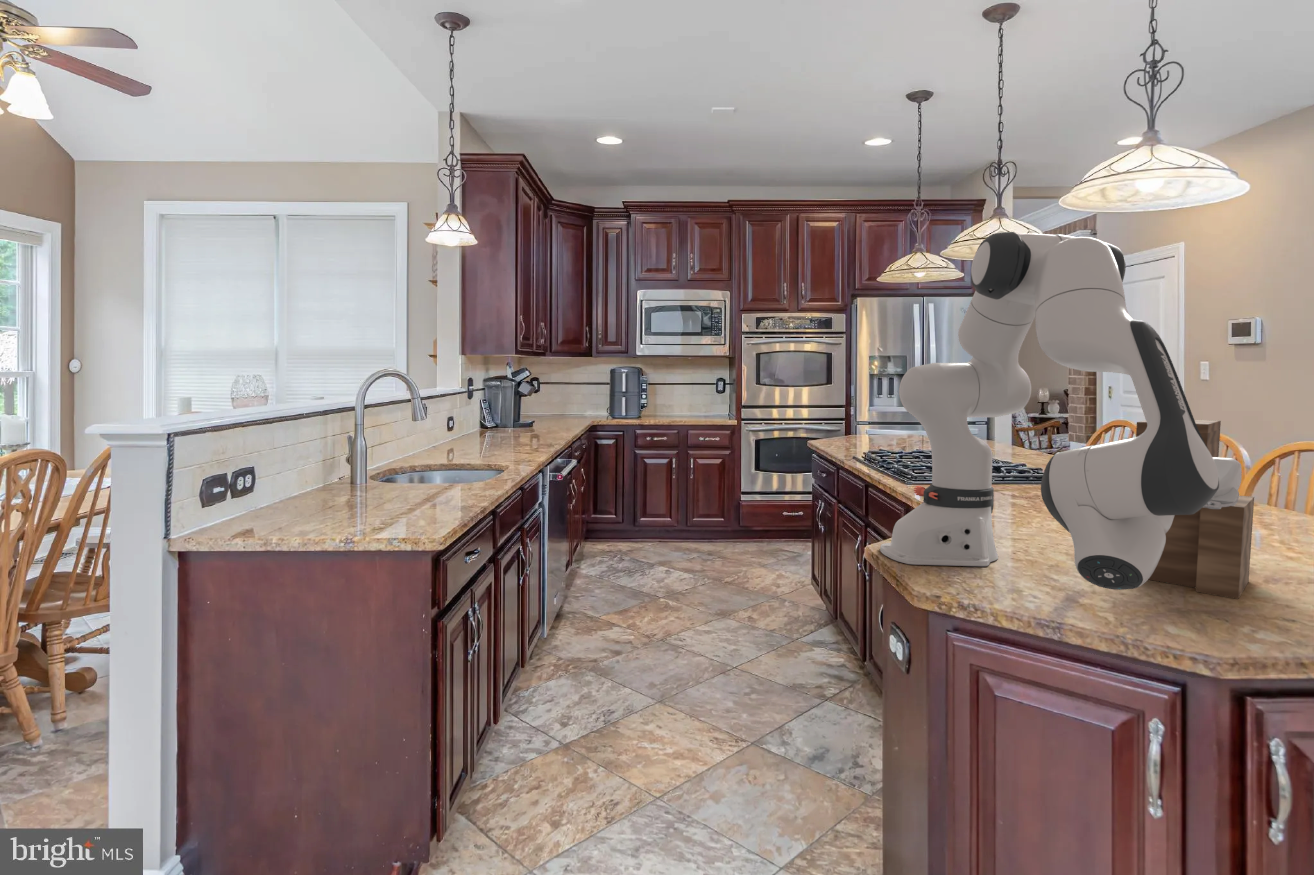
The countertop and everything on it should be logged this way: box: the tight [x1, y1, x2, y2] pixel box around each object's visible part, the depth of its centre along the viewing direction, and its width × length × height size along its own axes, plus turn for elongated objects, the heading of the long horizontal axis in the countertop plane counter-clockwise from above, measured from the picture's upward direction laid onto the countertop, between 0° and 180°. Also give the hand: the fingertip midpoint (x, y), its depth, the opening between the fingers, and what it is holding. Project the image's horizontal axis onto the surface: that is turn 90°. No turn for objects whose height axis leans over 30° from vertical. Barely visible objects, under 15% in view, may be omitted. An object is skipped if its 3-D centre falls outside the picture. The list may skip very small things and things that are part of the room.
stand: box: [1135, 419, 1255, 600], centre depth 122 cm, size 17×16×28 cm
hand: (1159, 444), depth 103 cm, fingers closed on plug, 3 cm apart
